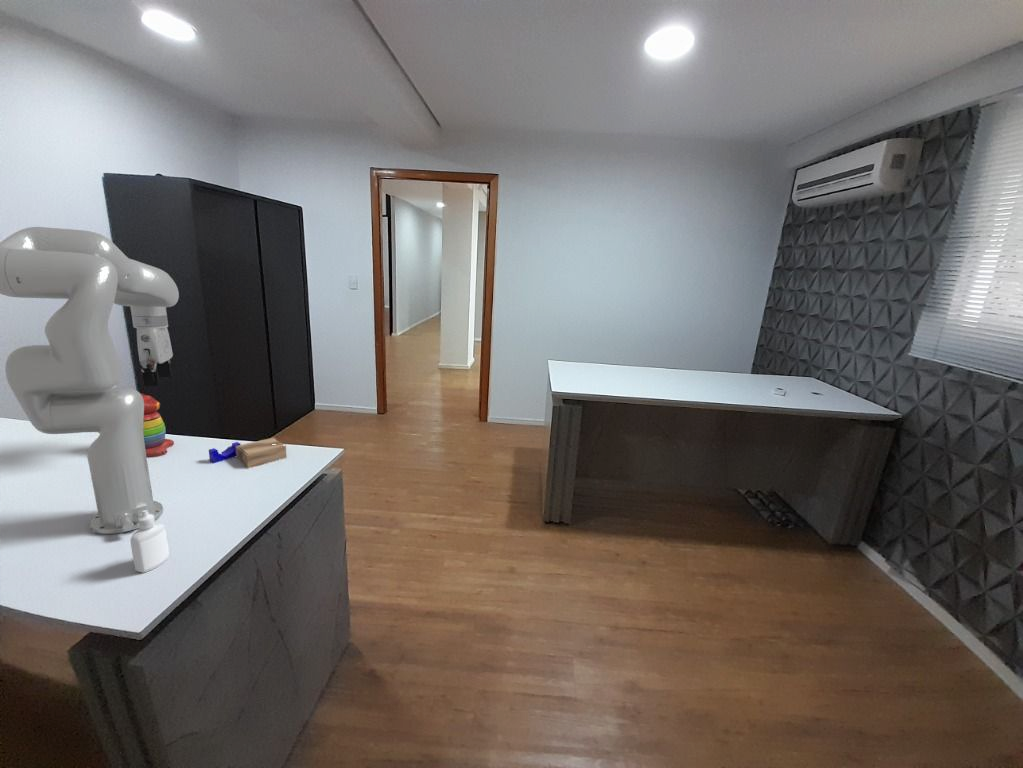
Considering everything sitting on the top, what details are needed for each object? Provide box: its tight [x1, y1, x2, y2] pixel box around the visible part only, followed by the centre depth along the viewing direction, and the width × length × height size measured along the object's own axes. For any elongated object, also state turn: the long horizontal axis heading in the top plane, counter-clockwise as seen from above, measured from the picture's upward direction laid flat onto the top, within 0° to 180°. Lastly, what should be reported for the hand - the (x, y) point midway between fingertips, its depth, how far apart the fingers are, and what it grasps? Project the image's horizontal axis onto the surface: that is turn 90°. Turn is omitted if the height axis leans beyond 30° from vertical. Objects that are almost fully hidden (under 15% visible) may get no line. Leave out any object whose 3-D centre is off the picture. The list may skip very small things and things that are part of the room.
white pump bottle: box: [130, 510, 171, 574], centre depth 85 cm, size 4×6×12 cm
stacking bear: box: [140, 393, 175, 458], centre depth 131 cm, size 11×10×18 cm
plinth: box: [235, 437, 287, 469], centre depth 133 cm, size 9×11×4 cm
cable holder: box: [208, 441, 242, 464], centre depth 132 cm, size 8×4×4 cm, turn 148°
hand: (158, 381), depth 124 cm, fingers open, 9 cm apart
